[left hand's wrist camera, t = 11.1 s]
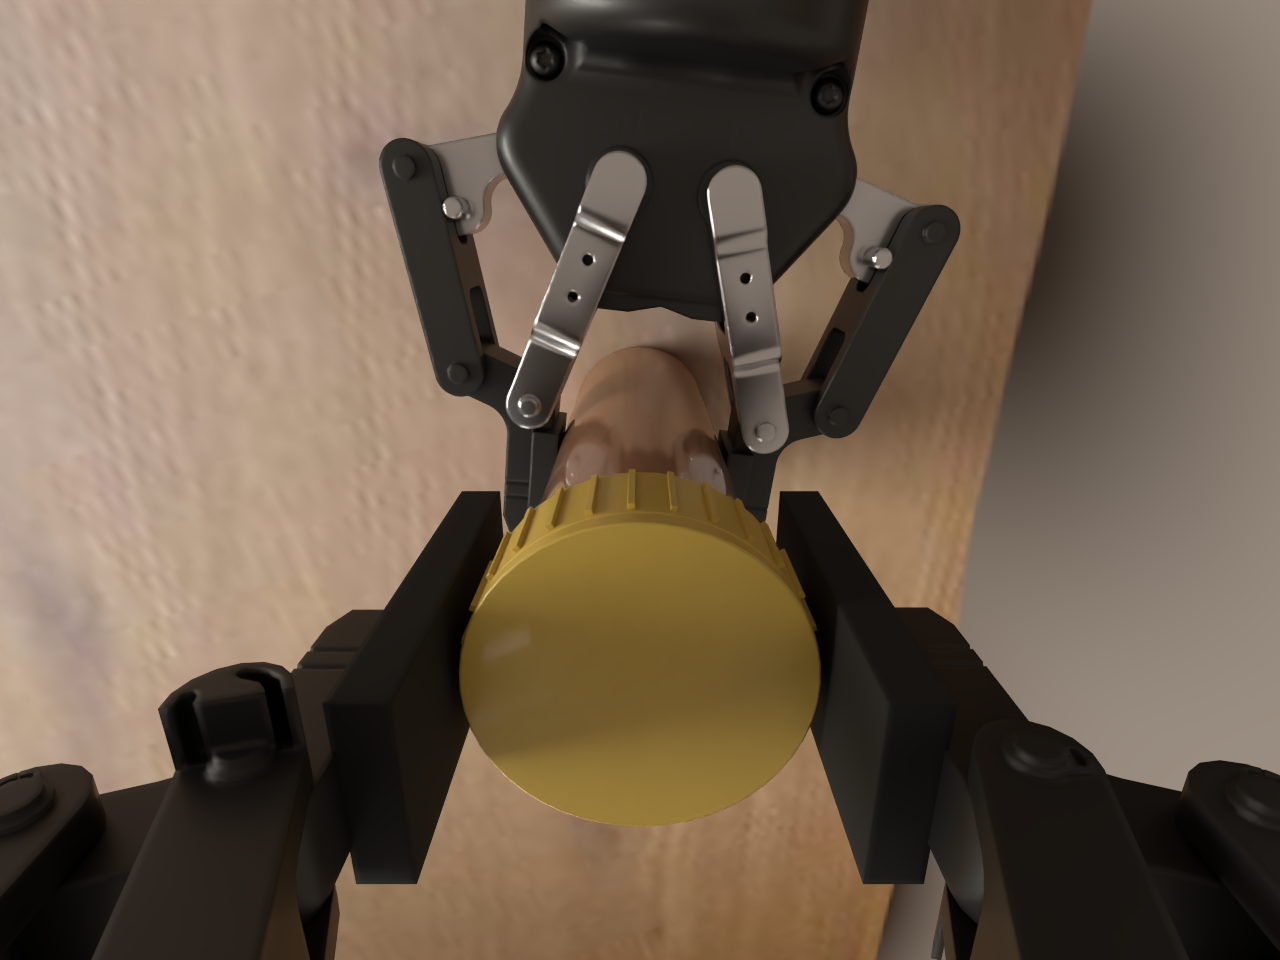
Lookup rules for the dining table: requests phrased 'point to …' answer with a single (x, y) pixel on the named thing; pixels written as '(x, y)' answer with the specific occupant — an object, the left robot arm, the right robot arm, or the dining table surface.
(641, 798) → the lid
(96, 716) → the dining table surface
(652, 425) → the jar
